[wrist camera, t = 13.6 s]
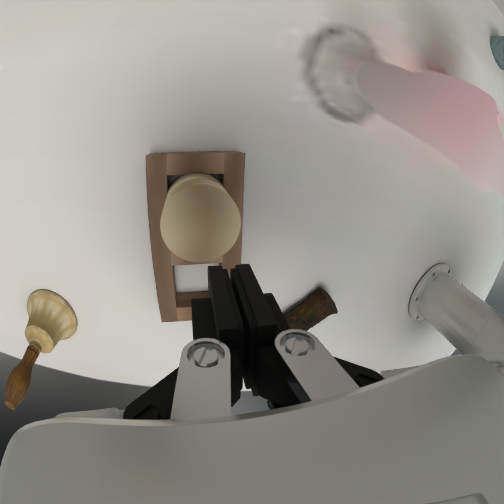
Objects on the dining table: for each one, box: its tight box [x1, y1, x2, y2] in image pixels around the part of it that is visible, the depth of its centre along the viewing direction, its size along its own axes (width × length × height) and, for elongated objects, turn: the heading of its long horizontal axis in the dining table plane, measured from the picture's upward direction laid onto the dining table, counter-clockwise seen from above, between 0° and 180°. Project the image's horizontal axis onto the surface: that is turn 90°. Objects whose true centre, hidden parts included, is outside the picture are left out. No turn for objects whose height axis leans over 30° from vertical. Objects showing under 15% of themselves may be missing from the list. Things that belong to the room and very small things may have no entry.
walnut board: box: [146, 151, 245, 322], centre depth 28 cm, size 9×18×3 cm, turn 177°
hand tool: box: [284, 287, 338, 331], centre depth 35 cm, size 19×4×5 cm, turn 120°
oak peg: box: [160, 172, 241, 262], centre depth 23 cm, size 6×6×10 cm
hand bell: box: [5, 290, 77, 410], centre depth 21 cm, size 8×8×16 cm
